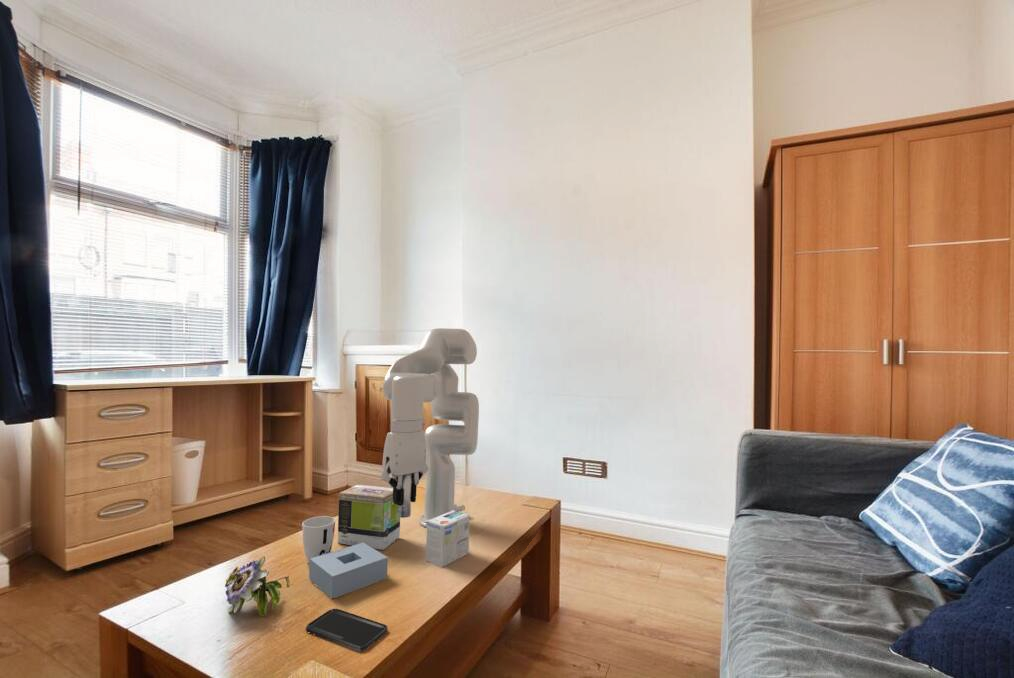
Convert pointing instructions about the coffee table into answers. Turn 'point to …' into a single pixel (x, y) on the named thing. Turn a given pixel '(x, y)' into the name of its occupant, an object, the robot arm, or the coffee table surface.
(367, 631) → the phone
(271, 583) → the passion flower
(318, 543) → the cup
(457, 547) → the light bulb box
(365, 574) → the hole block
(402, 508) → the pin
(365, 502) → the tea box
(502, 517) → the coffee table surface
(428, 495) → the robot arm
